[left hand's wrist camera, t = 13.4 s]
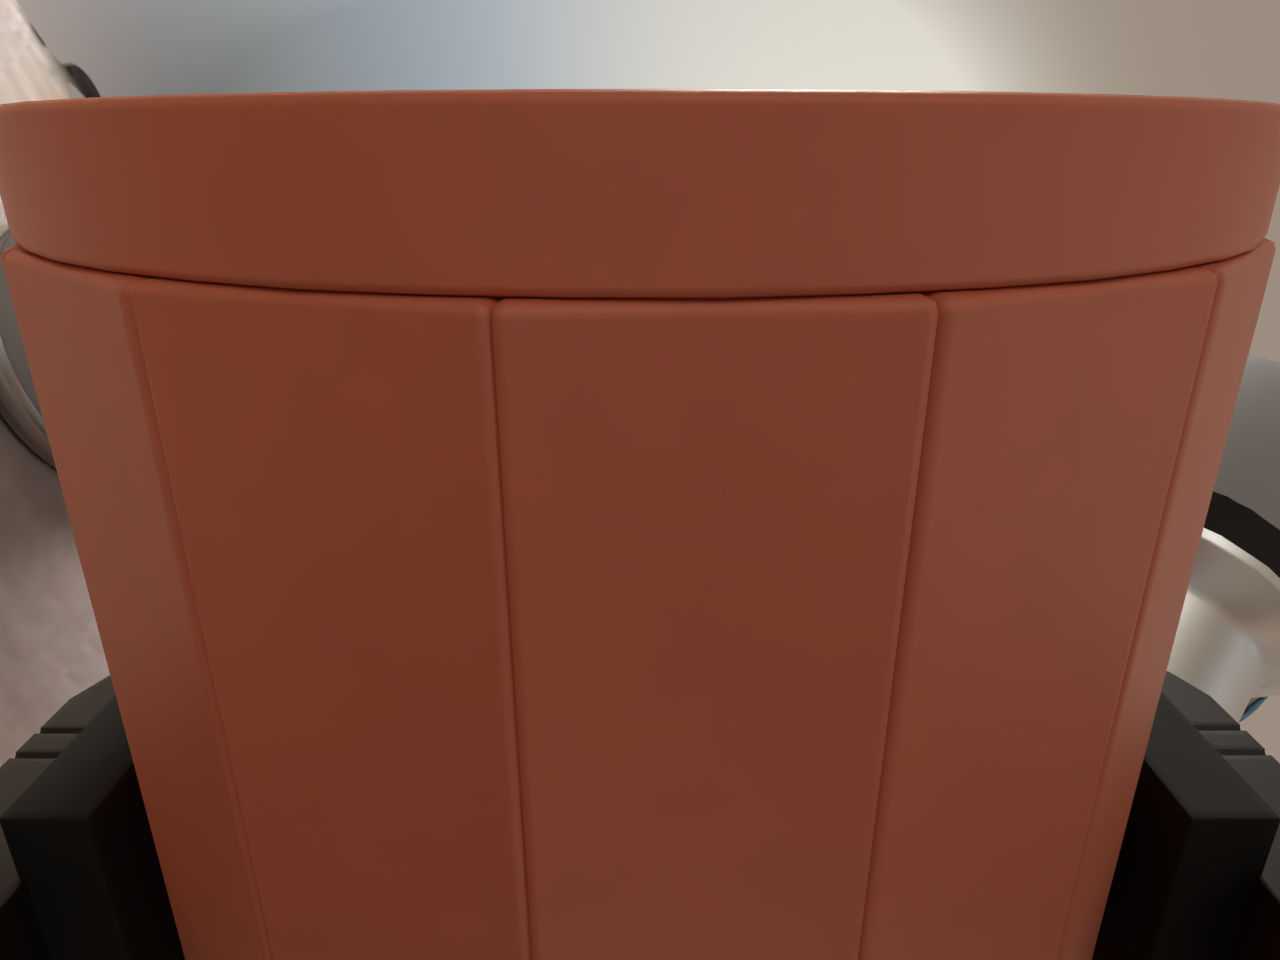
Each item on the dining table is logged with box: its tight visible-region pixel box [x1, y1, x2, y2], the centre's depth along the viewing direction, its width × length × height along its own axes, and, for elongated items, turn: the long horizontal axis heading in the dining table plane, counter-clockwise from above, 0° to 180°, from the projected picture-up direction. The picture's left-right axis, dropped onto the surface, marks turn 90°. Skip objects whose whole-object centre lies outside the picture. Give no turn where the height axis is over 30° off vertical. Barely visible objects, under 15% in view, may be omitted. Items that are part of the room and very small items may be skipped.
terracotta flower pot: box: [0, 89, 1280, 960], centre depth 10 cm, size 9×9×11 cm
